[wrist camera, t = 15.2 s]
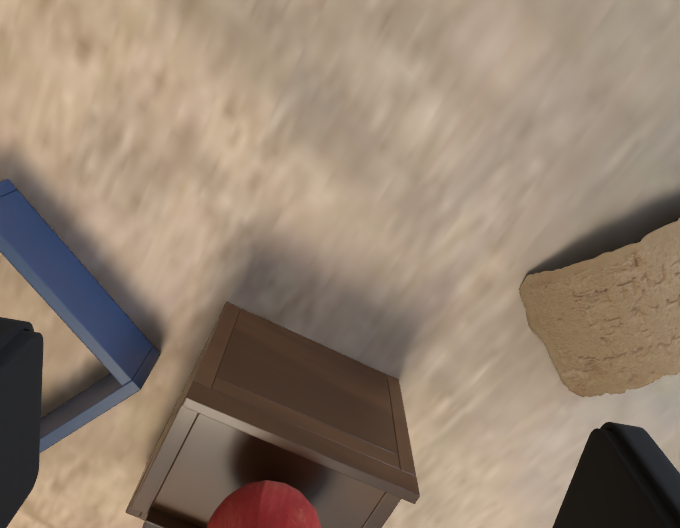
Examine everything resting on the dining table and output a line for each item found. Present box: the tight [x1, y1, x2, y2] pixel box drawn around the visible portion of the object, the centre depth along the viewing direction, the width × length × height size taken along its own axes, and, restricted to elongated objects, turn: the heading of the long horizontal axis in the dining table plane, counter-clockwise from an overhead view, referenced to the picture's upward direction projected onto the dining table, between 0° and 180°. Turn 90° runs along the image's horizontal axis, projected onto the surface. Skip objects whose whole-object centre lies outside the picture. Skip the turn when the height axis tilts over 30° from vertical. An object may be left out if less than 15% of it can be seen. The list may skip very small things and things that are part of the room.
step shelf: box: [126, 302, 420, 528], centre depth 38 cm, size 15×13×12 cm
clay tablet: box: [519, 217, 680, 397], centre depth 39 cm, size 14×10×3 cm
